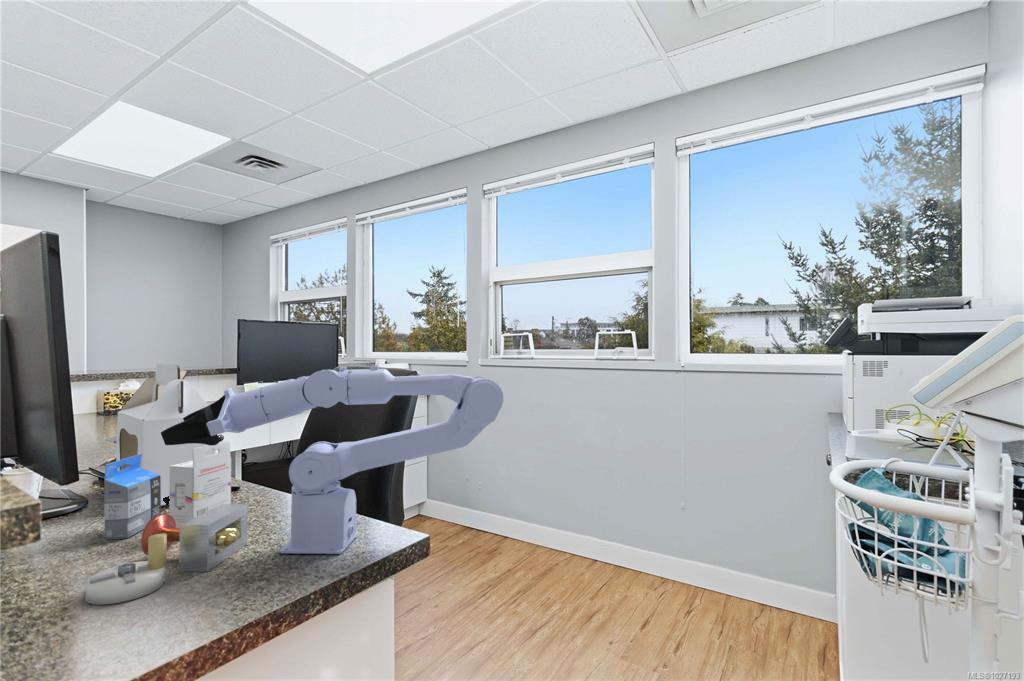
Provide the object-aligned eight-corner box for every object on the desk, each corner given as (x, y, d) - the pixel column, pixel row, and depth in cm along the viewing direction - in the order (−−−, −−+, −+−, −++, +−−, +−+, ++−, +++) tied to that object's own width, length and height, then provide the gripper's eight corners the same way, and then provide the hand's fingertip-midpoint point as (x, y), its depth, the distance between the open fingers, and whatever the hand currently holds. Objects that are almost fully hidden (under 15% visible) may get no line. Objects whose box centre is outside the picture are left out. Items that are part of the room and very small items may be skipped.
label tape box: (127, 539, 81) (130, 463, 81) (101, 540, 81) (103, 464, 81) (161, 521, 90) (163, 453, 90) (138, 522, 89) (139, 453, 90)
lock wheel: (87, 611, 58) (89, 560, 58) (82, 588, 63) (84, 542, 64) (171, 588, 63) (173, 542, 64) (160, 569, 69) (161, 526, 69)
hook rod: (250, 547, 77) (251, 509, 77) (227, 563, 71) (228, 522, 71) (169, 546, 77) (170, 509, 77) (140, 562, 71) (141, 521, 71)
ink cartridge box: (207, 519, 91) (209, 439, 91) (231, 521, 90) (233, 440, 90) (166, 536, 82) (168, 447, 83) (191, 538, 81) (194, 448, 82)
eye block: (246, 544, 79) (247, 503, 79) (207, 571, 69) (208, 525, 69) (221, 544, 79) (222, 503, 79) (178, 571, 69) (180, 524, 69)
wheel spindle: (139, 570, 64) (139, 563, 64) (128, 576, 63) (128, 569, 63) (125, 570, 64) (125, 563, 64) (113, 576, 63) (114, 569, 63)
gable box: (215, 496, 106) (218, 365, 107) (140, 510, 96) (144, 366, 97) (183, 478, 121) (186, 364, 121) (114, 489, 111) (118, 364, 112)
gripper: (270, 372, 84) (185, 395, 82) (245, 390, 70) (142, 419, 68) (284, 410, 86) (200, 434, 83) (262, 436, 71) (160, 466, 69)
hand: (175, 430), depth 75 cm, fingers open, 7 cm apart
